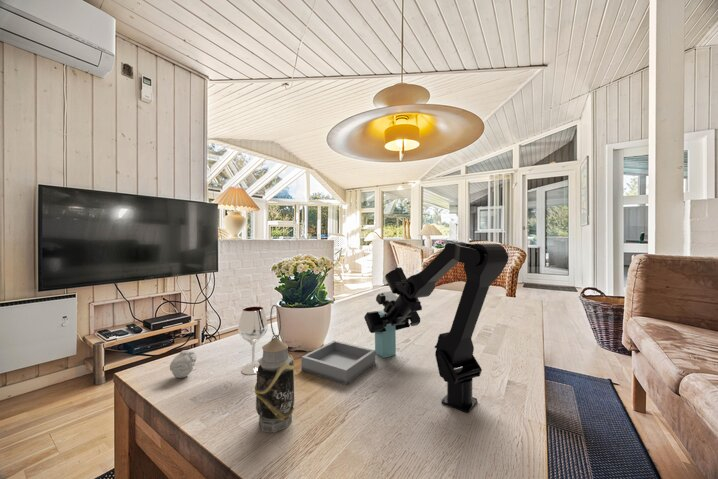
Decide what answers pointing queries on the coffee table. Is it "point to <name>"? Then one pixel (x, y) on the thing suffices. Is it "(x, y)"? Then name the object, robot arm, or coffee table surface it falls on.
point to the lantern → (275, 385)
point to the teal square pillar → (385, 340)
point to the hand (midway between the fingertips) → (383, 331)
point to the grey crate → (338, 361)
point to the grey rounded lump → (183, 363)
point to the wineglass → (252, 332)
